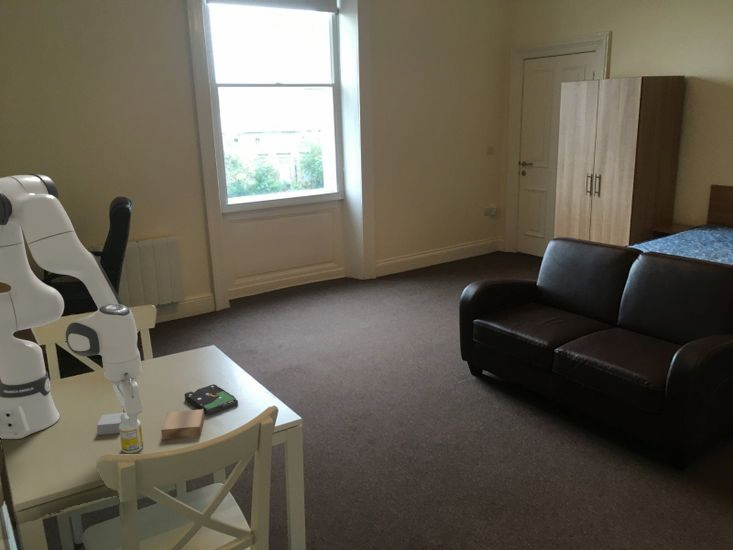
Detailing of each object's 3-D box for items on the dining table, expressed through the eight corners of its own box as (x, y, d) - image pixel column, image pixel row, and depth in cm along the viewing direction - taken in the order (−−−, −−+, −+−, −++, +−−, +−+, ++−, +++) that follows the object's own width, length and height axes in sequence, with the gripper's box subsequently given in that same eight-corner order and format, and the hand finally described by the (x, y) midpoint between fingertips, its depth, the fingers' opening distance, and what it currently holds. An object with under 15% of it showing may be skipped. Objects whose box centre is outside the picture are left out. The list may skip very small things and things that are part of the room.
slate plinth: (98, 434, 166) (96, 425, 165) (104, 424, 172) (102, 414, 171) (121, 432, 167) (119, 423, 166) (126, 422, 173) (125, 412, 172)
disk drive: (184, 402, 186) (208, 418, 175) (183, 393, 185) (207, 409, 174) (214, 391, 192) (239, 406, 182) (213, 383, 192) (238, 397, 181)
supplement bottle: (132, 455, 156) (128, 421, 153) (117, 451, 158) (112, 418, 155) (148, 445, 160) (143, 412, 158) (132, 441, 162) (128, 408, 160)
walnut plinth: (162, 439, 163) (161, 429, 162) (168, 421, 172) (167, 412, 172) (200, 436, 164) (199, 426, 163) (204, 418, 174) (203, 409, 173)
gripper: (144, 378, 146) (151, 430, 149) (128, 353, 163) (134, 400, 166) (117, 384, 143) (124, 437, 146) (103, 358, 160) (110, 407, 163)
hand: (129, 418), depth 156 cm, fingers open, 8 cm apart
